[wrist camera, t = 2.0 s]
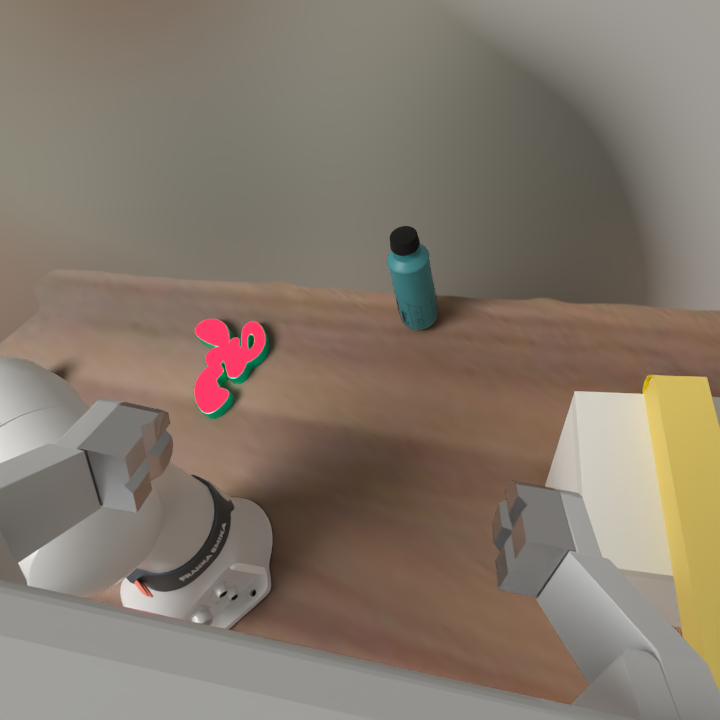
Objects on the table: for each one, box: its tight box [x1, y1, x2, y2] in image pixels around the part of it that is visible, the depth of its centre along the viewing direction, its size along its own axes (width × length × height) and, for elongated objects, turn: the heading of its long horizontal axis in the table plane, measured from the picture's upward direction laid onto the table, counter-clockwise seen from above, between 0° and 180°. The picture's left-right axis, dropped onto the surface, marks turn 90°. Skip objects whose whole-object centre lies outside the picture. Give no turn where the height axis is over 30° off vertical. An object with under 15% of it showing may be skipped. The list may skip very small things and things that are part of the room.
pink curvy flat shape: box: [194, 319, 270, 419], centre depth 84 cm, size 20×16×2 cm
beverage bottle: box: [387, 226, 438, 330], centre depth 72 cm, size 6×7×20 cm
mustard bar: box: [644, 375, 720, 692], centre depth 31 cm, size 22×4×3 cm, turn 170°
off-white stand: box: [545, 391, 720, 628], centre depth 45 cm, size 14×14×26 cm
